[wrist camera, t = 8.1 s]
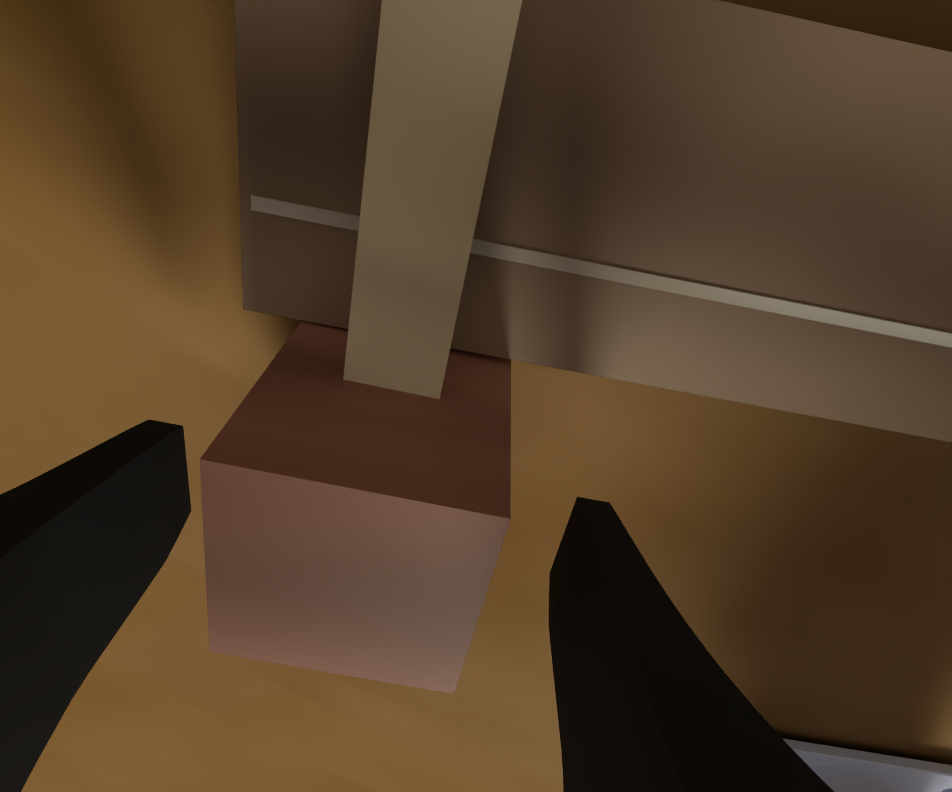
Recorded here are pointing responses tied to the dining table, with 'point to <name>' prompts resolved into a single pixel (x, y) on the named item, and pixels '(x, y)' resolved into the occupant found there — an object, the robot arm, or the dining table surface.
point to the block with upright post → (380, 400)
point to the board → (645, 199)
